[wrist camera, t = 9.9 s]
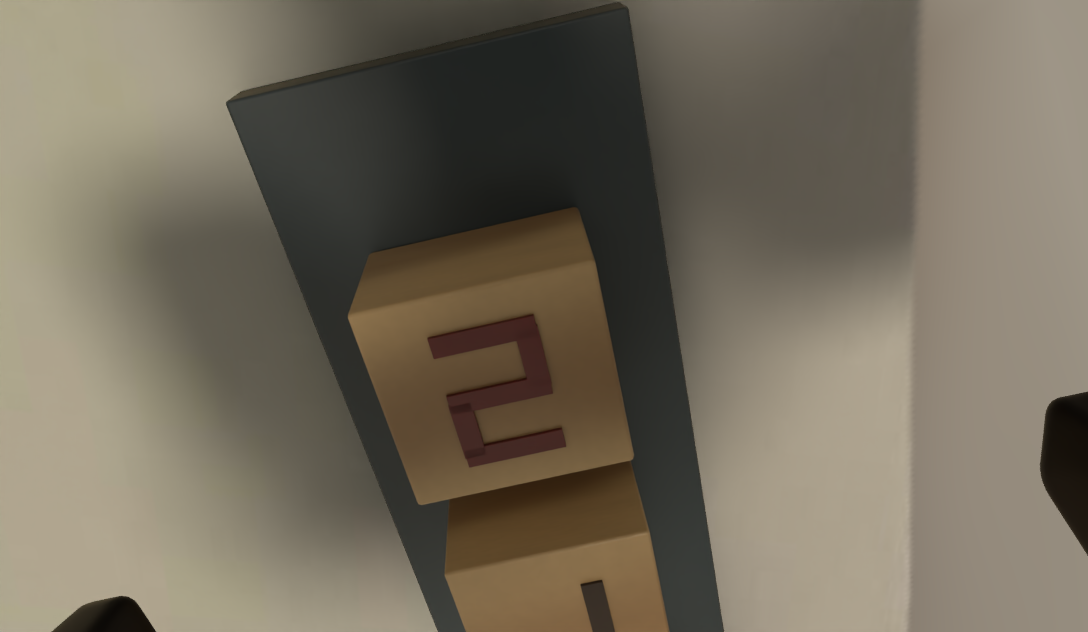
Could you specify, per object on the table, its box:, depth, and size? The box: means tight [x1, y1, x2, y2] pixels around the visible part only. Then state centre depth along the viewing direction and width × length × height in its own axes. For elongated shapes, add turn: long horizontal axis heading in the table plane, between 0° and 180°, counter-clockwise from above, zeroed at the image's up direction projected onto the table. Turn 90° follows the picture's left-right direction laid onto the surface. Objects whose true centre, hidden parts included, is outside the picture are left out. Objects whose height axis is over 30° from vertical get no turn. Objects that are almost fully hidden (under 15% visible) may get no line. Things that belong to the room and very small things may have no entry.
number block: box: [348, 207, 634, 505], centre depth 16 cm, size 5×5×3 cm
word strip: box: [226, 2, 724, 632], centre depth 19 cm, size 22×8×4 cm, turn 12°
